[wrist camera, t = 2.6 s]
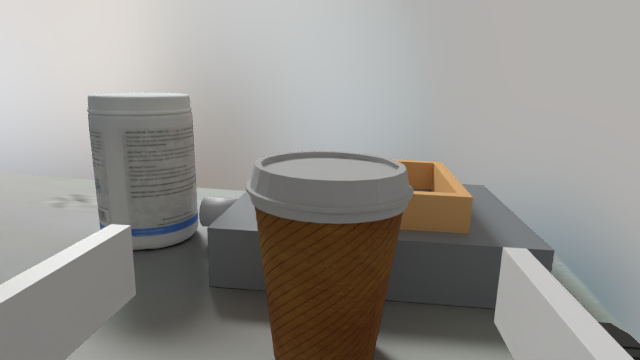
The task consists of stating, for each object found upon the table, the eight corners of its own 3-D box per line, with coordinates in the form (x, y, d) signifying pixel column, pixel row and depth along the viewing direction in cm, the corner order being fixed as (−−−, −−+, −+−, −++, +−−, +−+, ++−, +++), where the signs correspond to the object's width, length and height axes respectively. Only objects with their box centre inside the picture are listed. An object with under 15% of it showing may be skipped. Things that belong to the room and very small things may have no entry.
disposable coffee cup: (389, 422, 22) (407, 191, 19) (218, 382, 24) (212, 172, 22) (407, 324, 31) (420, 156, 28) (280, 301, 33) (282, 145, 31)
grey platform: (161, 282, 36) (156, 187, 34) (234, 211, 55) (233, 148, 53) (544, 312, 33) (560, 210, 31) (478, 225, 52) (486, 160, 50)
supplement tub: (211, 224, 50) (207, 93, 47) (175, 257, 41) (167, 97, 38) (130, 218, 51) (121, 90, 48) (78, 249, 42) (62, 93, 38)
